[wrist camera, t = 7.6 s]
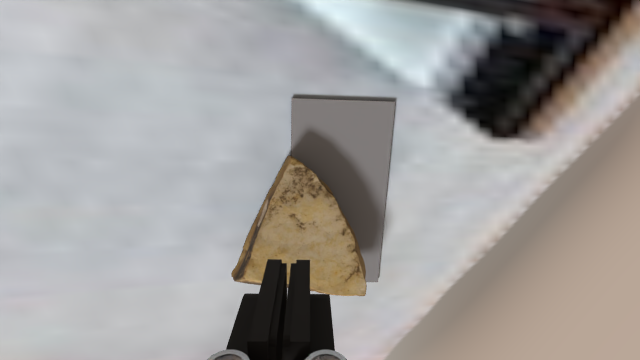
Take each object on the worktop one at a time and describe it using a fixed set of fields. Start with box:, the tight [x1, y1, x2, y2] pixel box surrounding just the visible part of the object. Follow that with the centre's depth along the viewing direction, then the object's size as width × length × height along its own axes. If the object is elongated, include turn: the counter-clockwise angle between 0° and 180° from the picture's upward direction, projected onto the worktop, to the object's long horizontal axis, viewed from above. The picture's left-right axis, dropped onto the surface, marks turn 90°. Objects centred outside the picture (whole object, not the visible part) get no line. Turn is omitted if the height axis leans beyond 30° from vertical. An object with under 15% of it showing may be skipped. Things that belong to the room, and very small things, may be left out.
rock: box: [232, 156, 366, 296], centre depth 24 cm, size 11×9×10 cm
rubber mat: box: [291, 98, 395, 282], centre depth 25 cm, size 8×16×1 cm, turn 178°
